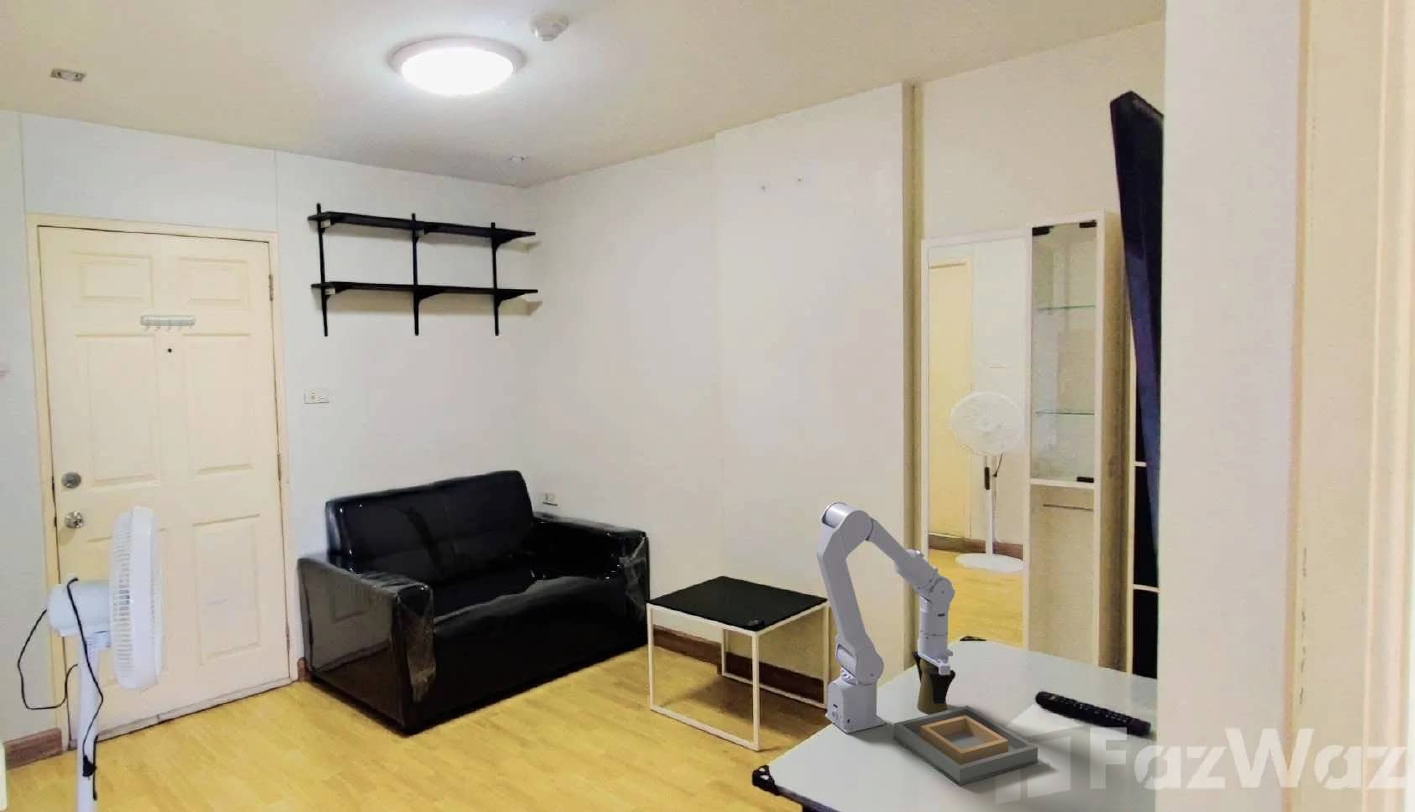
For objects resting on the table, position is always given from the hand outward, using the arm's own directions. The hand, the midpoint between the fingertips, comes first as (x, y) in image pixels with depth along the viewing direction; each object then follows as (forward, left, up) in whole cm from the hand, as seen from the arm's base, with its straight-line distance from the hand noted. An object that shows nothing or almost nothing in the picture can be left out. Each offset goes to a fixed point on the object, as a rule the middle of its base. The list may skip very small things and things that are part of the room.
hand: (932, 694), depth 162 cm
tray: (-6, -16, -3) cm, 17 cm away
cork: (0, 0, -3) cm, 3 cm away
